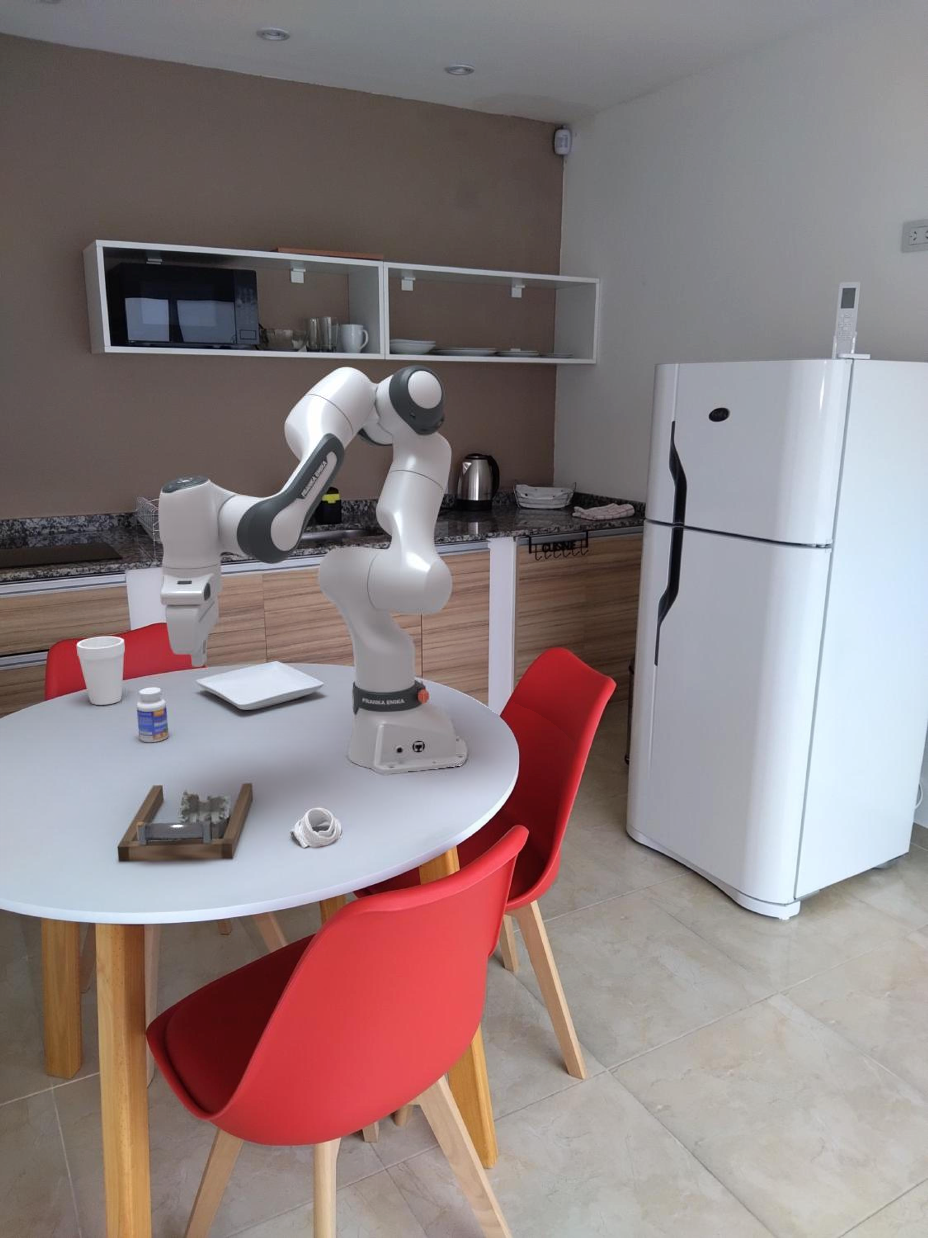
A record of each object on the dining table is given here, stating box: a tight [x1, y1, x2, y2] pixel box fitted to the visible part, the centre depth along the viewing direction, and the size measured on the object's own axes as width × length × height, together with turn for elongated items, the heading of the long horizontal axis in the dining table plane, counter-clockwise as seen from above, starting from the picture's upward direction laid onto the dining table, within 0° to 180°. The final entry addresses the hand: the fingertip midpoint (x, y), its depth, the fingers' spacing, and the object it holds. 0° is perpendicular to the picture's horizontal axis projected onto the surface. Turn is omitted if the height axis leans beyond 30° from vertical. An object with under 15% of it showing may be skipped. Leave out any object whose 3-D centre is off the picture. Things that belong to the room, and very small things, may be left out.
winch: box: [136, 821, 212, 846], centre depth 127 cm, size 10×2×3 cm, turn 95°
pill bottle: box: [136, 686, 169, 743], centre depth 171 cm, size 5×5×10 cm
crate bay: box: [116, 782, 254, 863], centre depth 137 cm, size 16×20×3 cm
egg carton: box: [178, 789, 232, 840], centre depth 137 cm, size 11×8×4 cm
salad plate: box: [195, 660, 325, 711], centre depth 198 cm, size 21×21×3 cm
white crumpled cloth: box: [289, 807, 342, 849], centre depth 135 cm, size 8×7×5 cm
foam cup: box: [76, 635, 126, 706], centre depth 191 cm, size 10×9×13 cm
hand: (199, 663), depth 144 cm, fingers closed
